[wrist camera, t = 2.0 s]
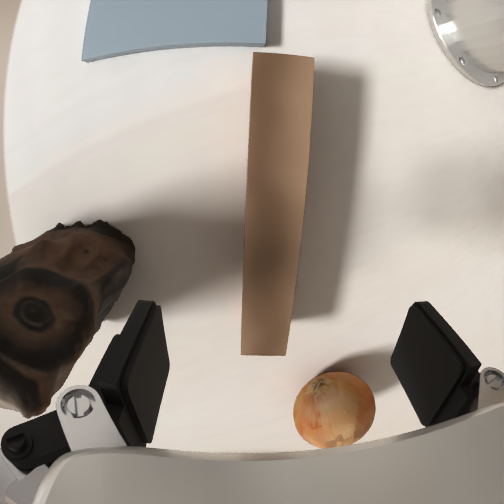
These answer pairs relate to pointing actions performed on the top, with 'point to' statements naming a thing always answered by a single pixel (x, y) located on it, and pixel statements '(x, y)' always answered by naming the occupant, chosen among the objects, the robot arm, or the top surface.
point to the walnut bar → (275, 197)
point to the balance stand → (171, 25)
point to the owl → (55, 307)
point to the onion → (334, 410)
